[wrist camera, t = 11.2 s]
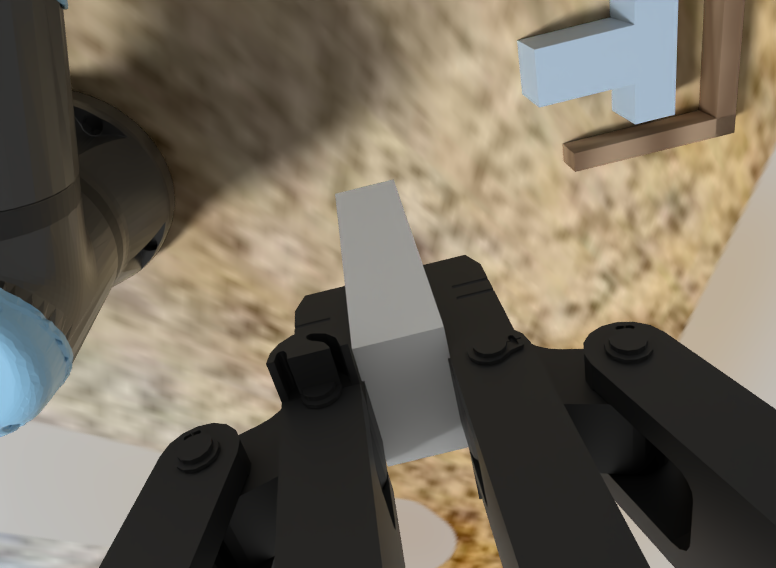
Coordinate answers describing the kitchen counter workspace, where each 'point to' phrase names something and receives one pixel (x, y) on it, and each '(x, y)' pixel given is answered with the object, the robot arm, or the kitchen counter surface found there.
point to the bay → (708, 122)
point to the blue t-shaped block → (608, 60)
